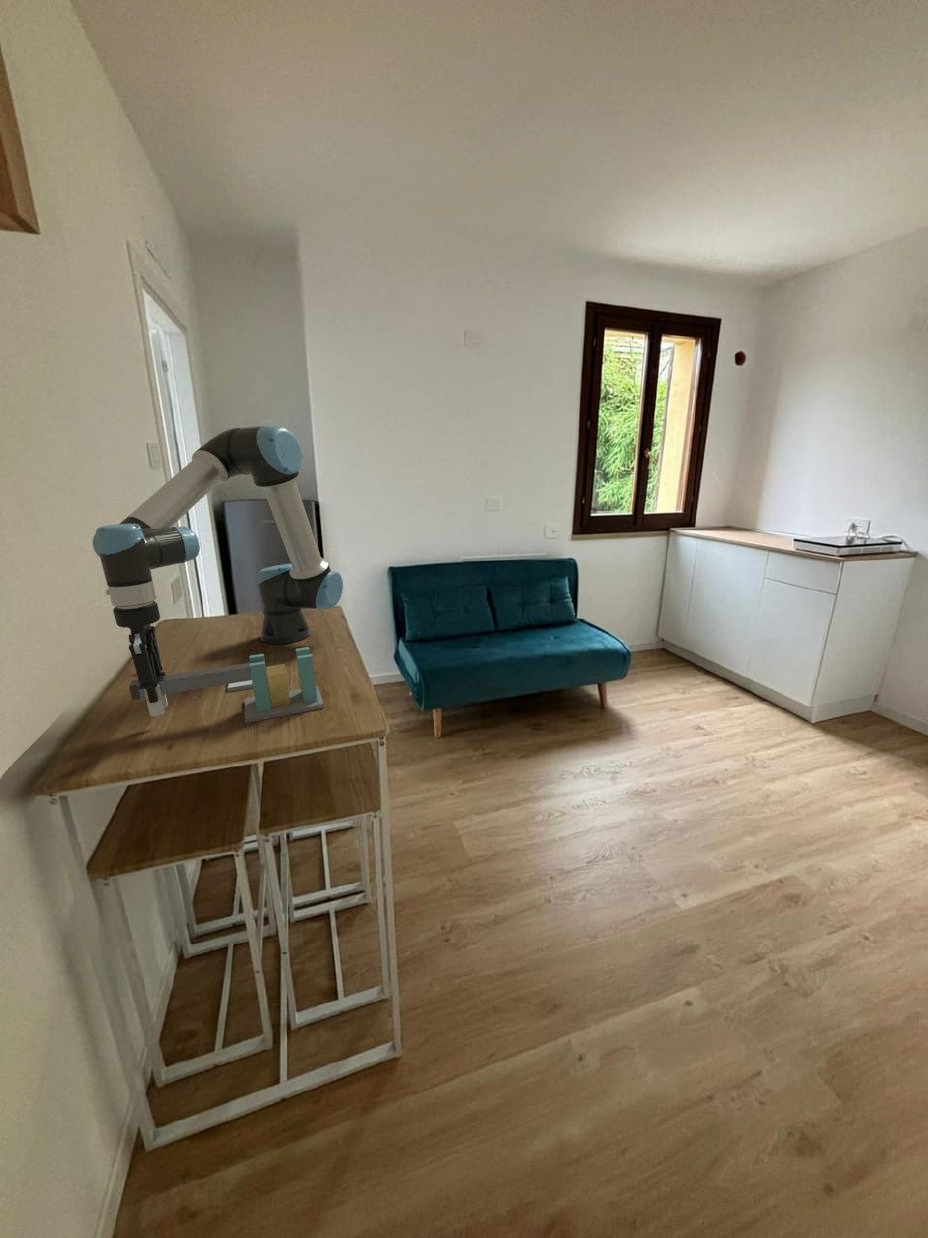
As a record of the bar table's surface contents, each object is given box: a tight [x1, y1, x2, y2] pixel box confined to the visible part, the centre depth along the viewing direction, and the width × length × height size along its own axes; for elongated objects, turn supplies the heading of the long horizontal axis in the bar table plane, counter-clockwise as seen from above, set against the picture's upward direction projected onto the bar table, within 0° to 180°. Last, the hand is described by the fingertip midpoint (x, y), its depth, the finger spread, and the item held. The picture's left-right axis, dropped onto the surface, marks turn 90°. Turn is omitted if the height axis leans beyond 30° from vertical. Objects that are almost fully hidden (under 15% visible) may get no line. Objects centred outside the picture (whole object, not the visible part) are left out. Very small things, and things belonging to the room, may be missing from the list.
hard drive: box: [227, 680, 253, 693], centre depth 133 cm, size 2×8×12 cm
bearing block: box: [244, 646, 325, 724], centre depth 116 cm, size 11×16×12 cm, turn 112°
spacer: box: [266, 663, 290, 708], centre depth 116 cm, size 6×4×8 cm, turn 22°
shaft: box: [128, 661, 263, 701], centre depth 109 cm, size 3×26×3 cm, turn 112°
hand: (159, 710), depth 108 cm, fingers closed on shaft, 3 cm apart
